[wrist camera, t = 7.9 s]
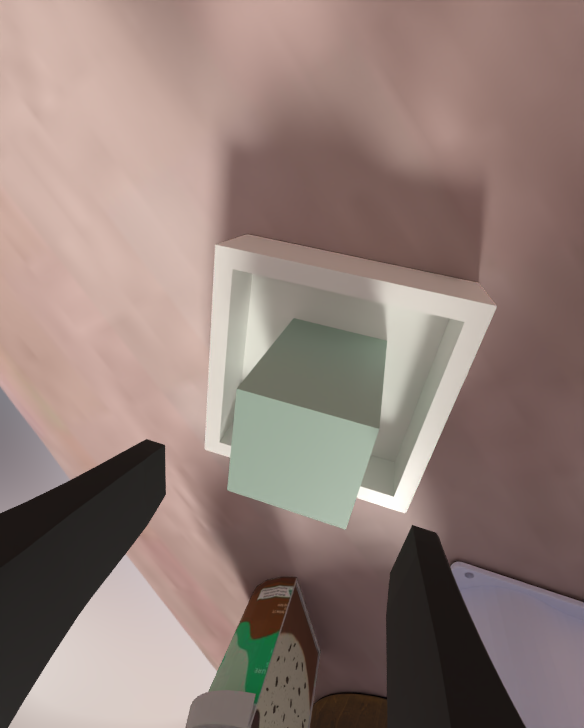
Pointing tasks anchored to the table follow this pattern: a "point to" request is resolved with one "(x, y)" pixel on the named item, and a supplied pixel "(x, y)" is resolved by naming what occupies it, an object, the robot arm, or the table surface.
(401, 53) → the table surface
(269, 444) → the green block
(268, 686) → the food container
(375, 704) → the wooden container
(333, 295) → the bin
